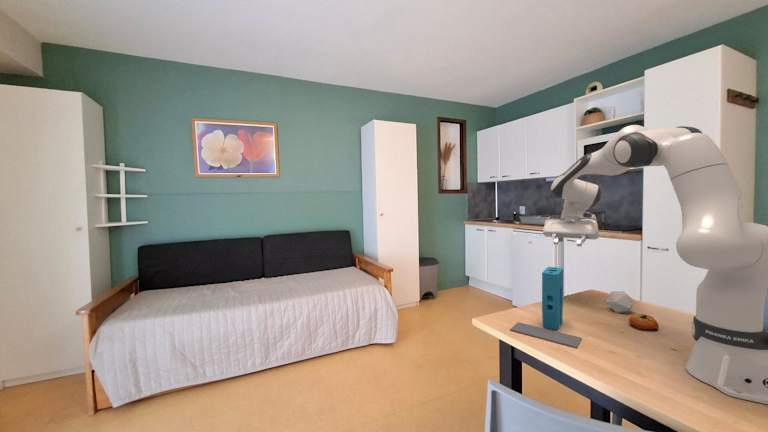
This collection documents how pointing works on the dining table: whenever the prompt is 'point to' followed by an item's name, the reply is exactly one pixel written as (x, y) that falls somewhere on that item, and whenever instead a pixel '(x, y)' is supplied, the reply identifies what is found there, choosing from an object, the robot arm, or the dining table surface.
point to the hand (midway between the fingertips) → (566, 244)
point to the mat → (547, 334)
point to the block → (552, 297)
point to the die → (620, 302)
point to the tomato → (643, 322)
